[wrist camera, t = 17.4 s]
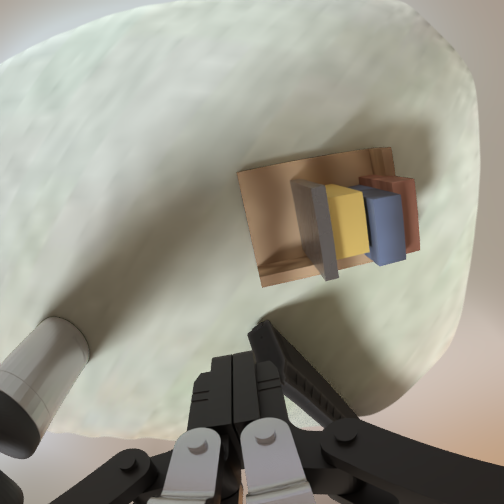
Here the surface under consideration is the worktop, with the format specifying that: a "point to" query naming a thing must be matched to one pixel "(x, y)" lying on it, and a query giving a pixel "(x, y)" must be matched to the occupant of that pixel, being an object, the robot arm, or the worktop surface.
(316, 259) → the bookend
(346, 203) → the book
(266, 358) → the magazine
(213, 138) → the worktop surface
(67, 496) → the robot arm
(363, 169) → the shelf
